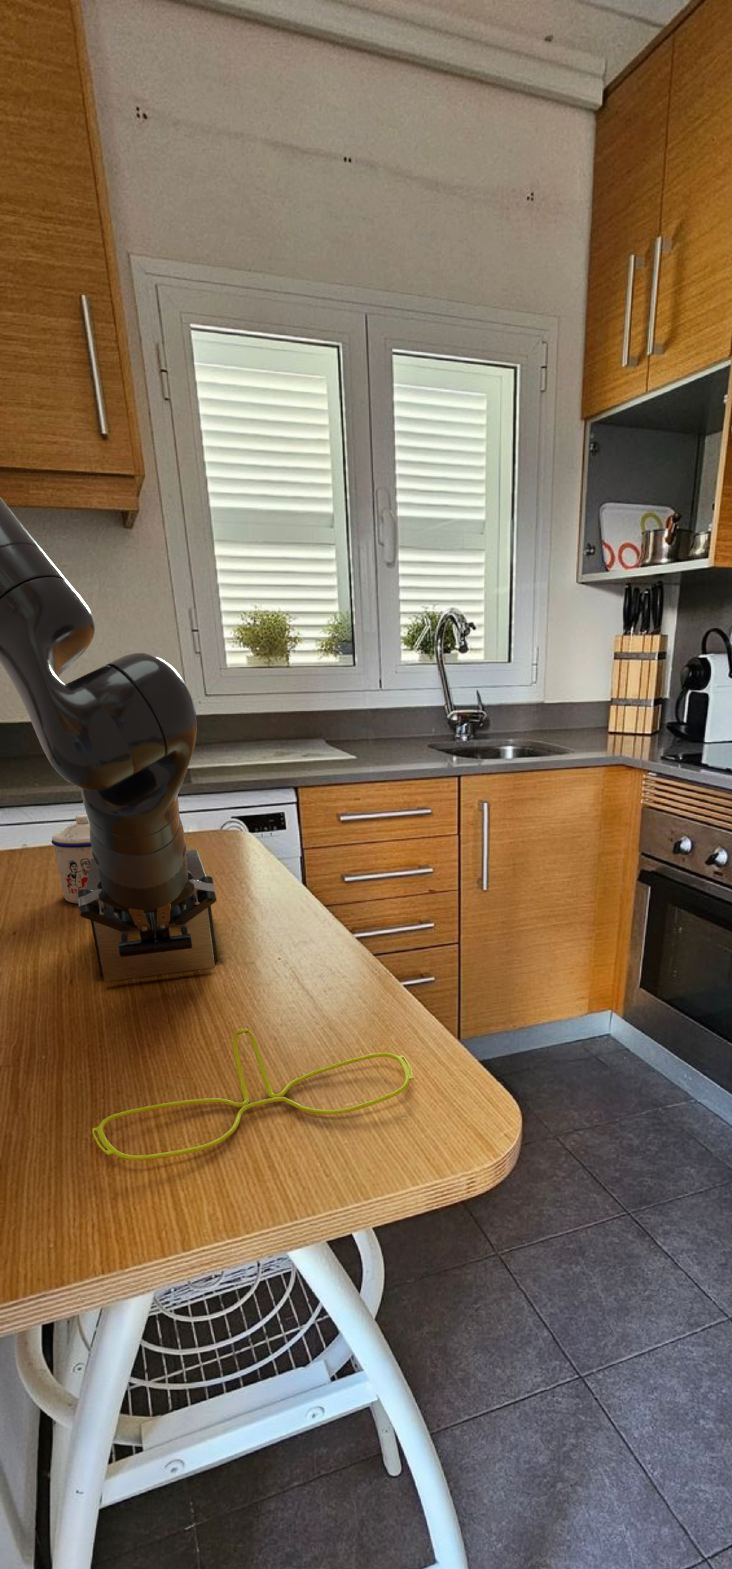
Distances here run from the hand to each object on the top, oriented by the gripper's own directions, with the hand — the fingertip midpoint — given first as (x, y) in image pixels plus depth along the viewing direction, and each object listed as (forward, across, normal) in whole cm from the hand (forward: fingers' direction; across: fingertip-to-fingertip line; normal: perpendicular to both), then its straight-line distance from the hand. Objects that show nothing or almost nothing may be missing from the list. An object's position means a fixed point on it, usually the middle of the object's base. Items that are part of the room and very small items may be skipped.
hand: (155, 937), depth 88 cm
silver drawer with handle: (+8, 0, -1) cm, 8 cm away
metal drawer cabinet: (+13, 0, -5) cm, 14 cm away
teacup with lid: (+32, +6, -23) cm, 40 cm away
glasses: (-16, -6, +24) cm, 30 cm away
